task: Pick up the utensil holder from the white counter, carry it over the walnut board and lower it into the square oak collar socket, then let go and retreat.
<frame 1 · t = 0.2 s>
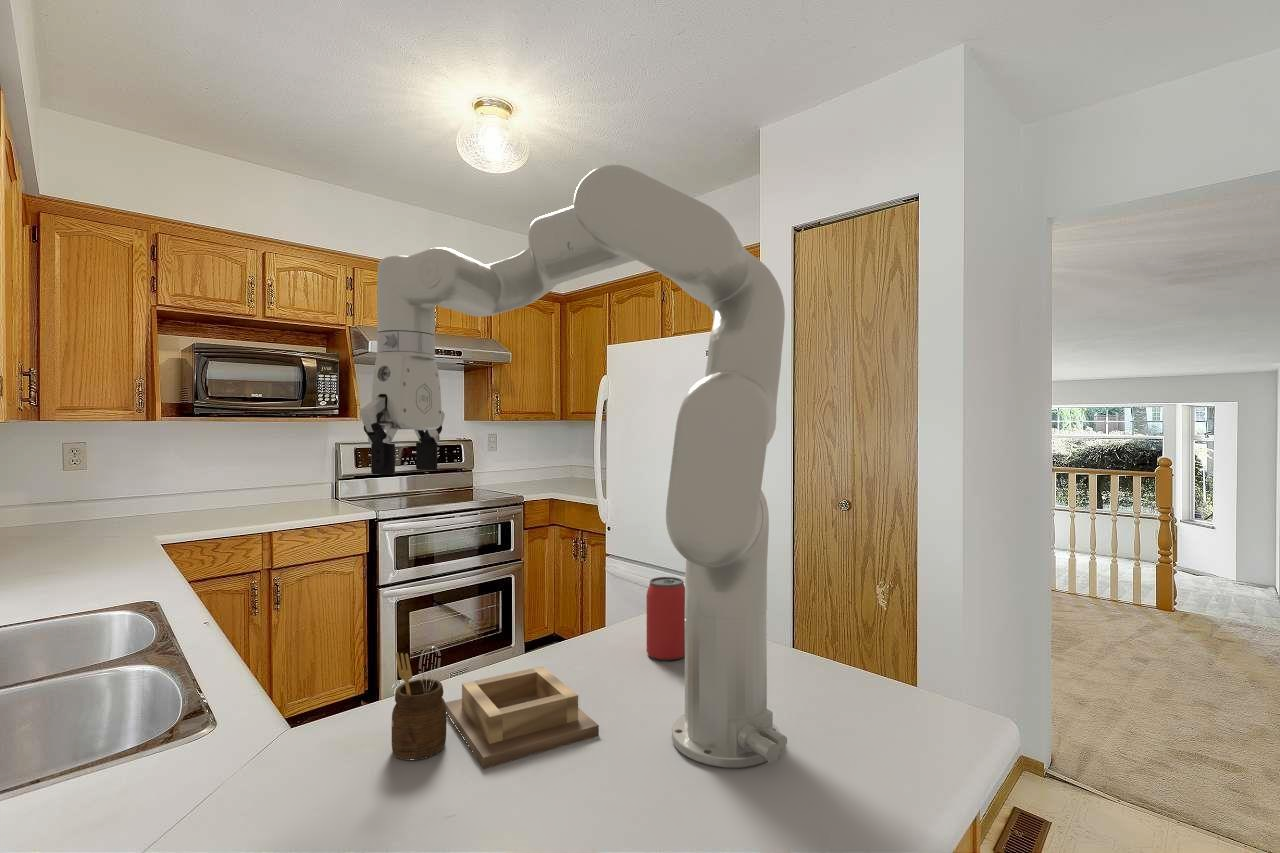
hand: (406, 471, 87), 31 cm above the worktop, tool pointing down, fingers open, 9 cm apart
utensil holder: (418, 751, 71), on the worktop
socket board: (518, 723, 78), on the worktop
beer can: (666, 655, 101), on the worktop
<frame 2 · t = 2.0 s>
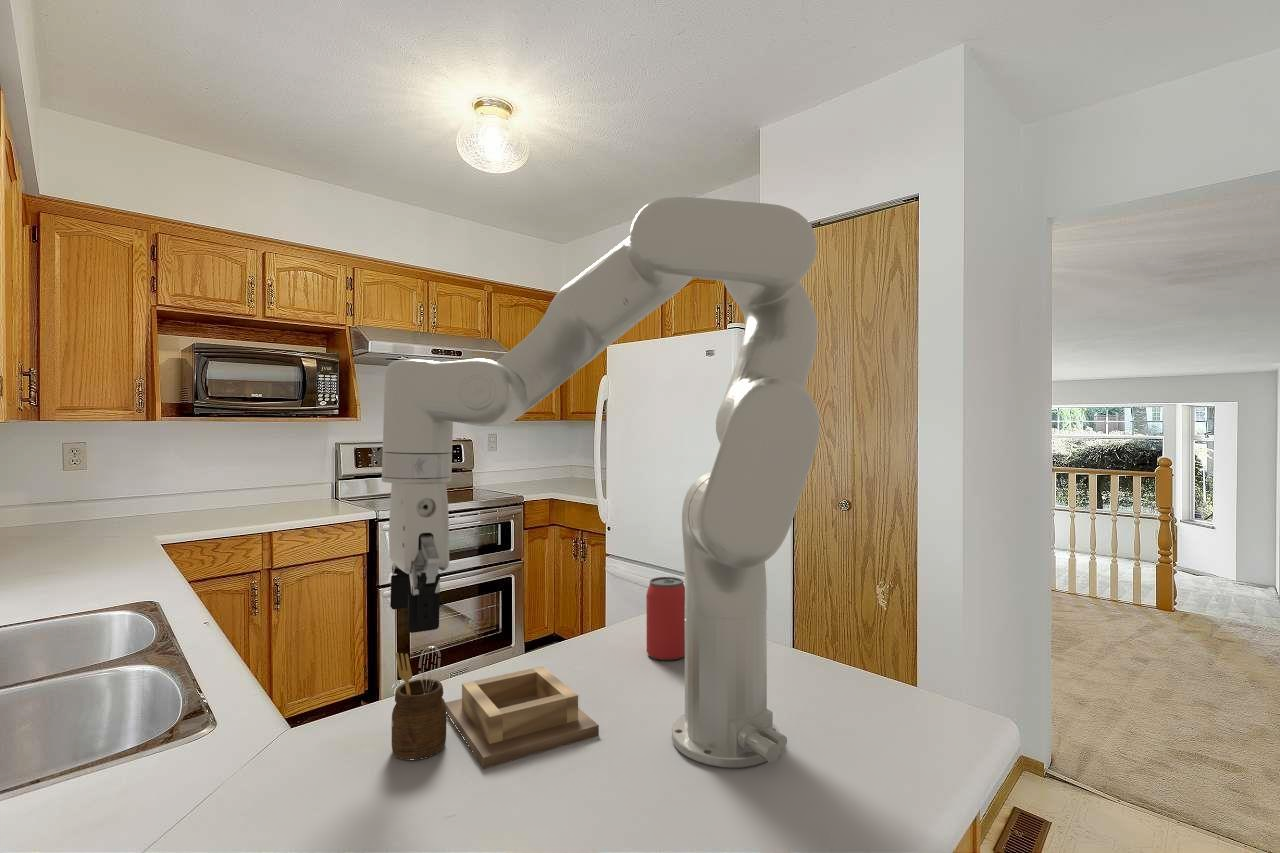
hand: (413, 618, 71), 15 cm above the worktop, tool pointing down, fingers open, 9 cm apart
nothing on the worktop moved.
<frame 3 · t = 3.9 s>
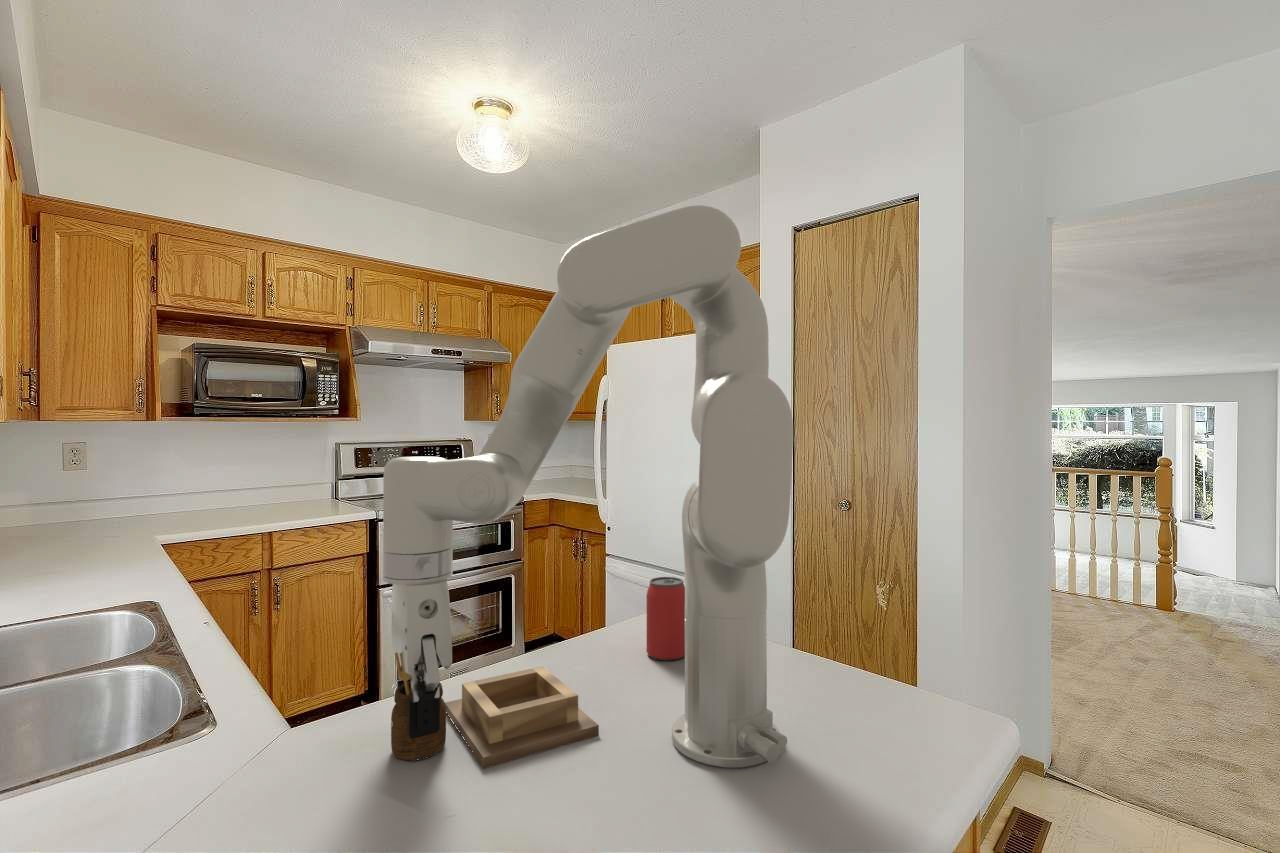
hand: (417, 721, 71), 3 cm above the worktop, tool pointing down, fingers closed on utensil holder, 5 cm apart
utensil holder: (418, 751, 71), on the worktop, touching gripper
everything else where it was.
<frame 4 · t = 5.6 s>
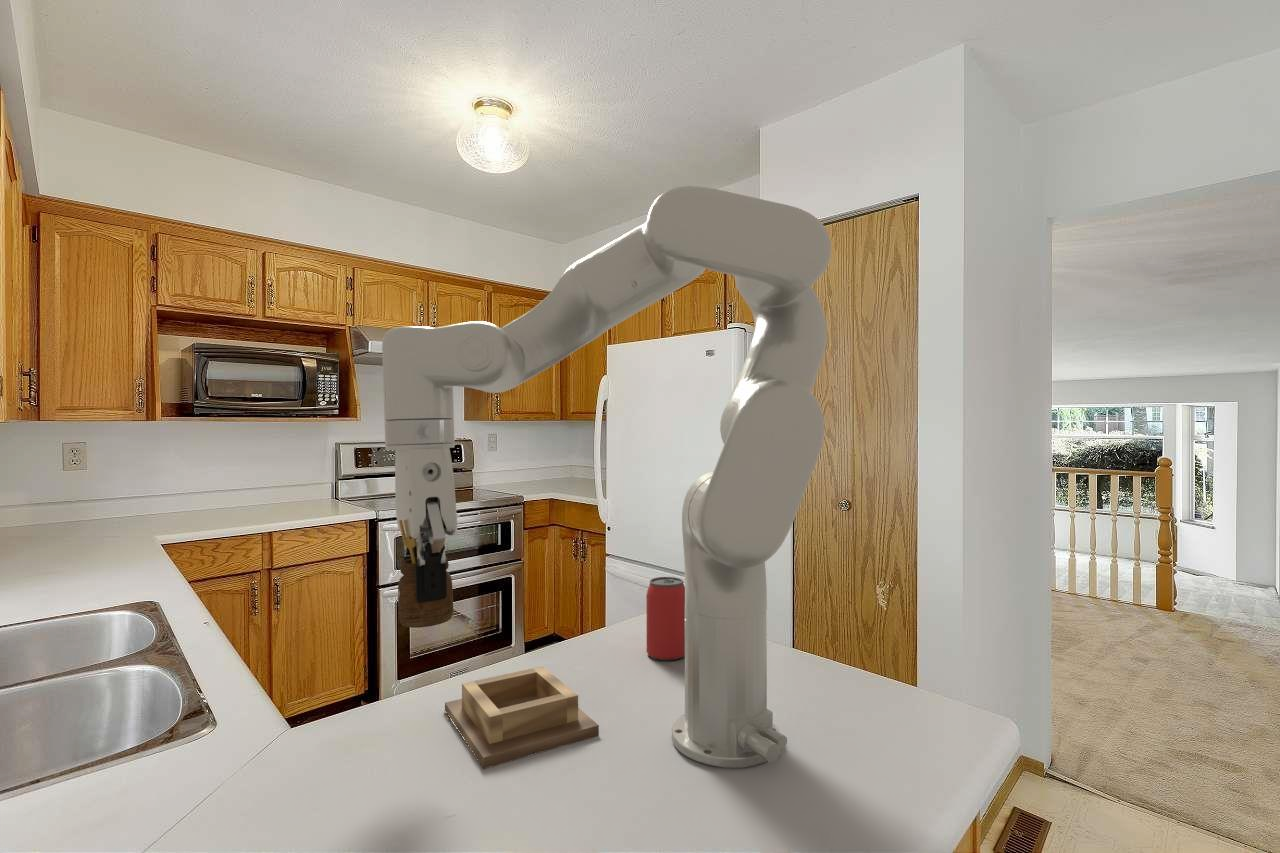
hand: (425, 592, 72), 18 cm above the worktop, tool pointing down, fingers closed on utensil holder, 5 cm apart
utensil holder: (426, 623, 71), point 14 cm above the worktop, touching gripper
everything else where it was.
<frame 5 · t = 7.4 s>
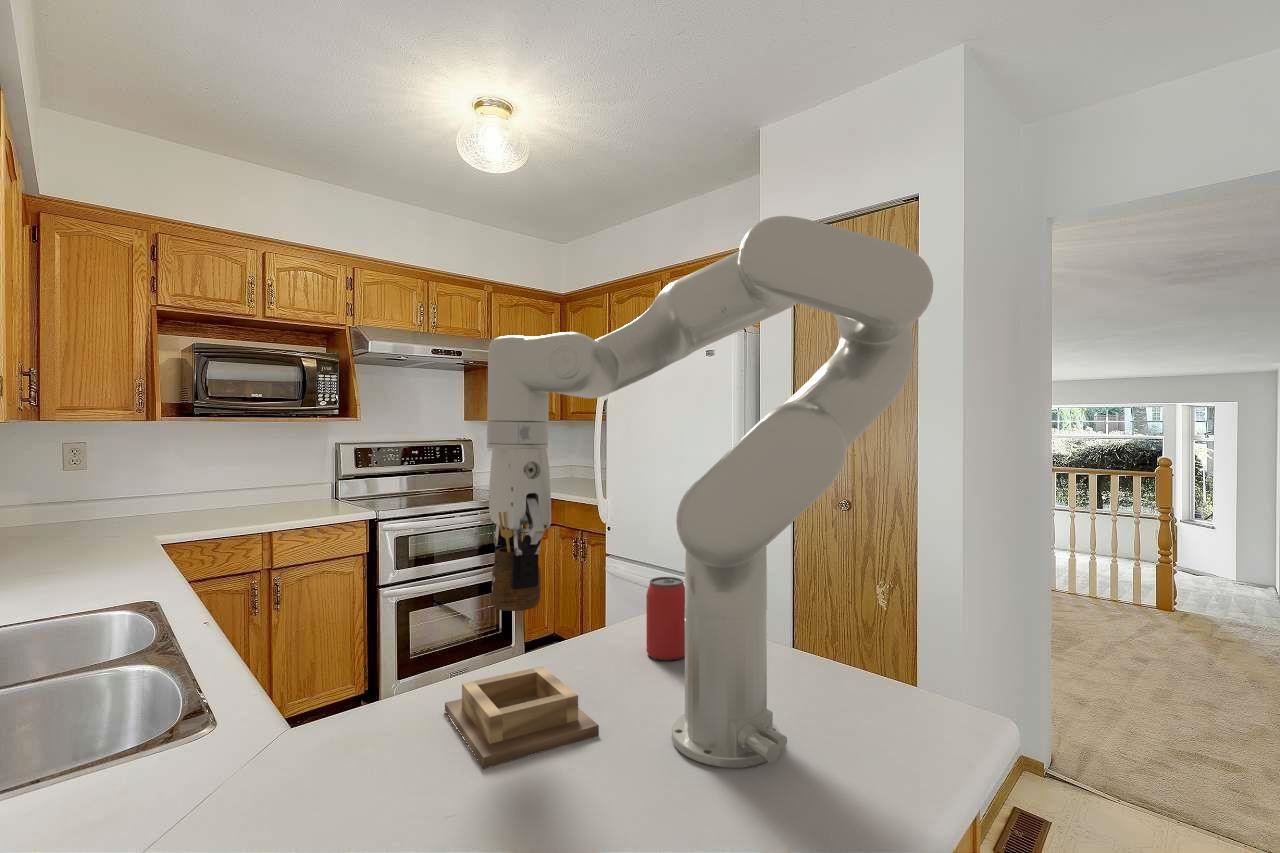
hand: (515, 580, 78), 18 cm above the worktop, tool pointing down, fingers closed on utensil holder, 5 cm apart
utensil holder: (515, 607, 78), point 14 cm above the worktop, touching gripper
everything else where it was.
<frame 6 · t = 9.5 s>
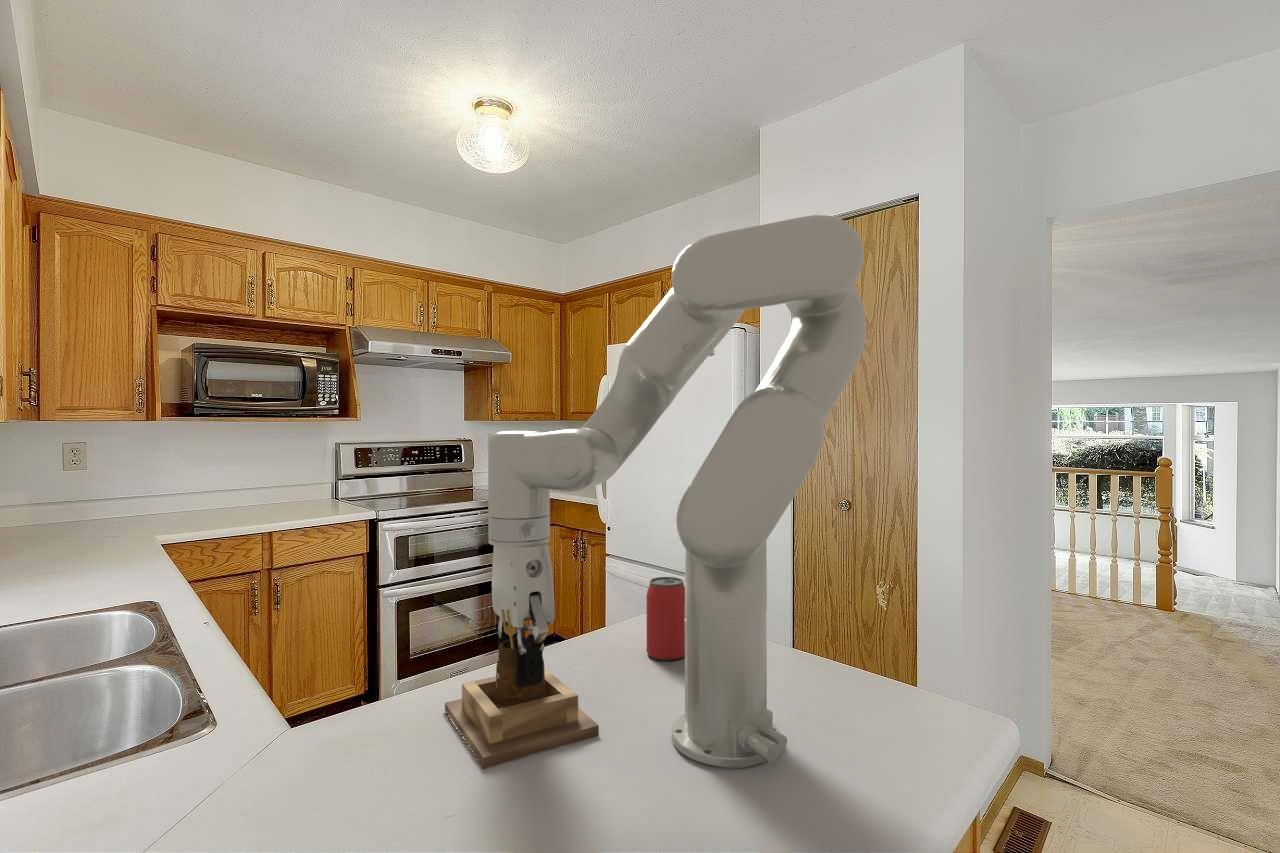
hand: (520, 674, 78), 6 cm above the worktop, tool pointing down, fingers closed on utensil holder, 5 cm apart
utensil holder: (520, 702, 77), point 3 cm above the worktop, touching gripper
everything else where it was.
when the fingers open (6 cm above the worktop, at t = 10.0 s): utensil holder drops 2 cm, resting on socket board.
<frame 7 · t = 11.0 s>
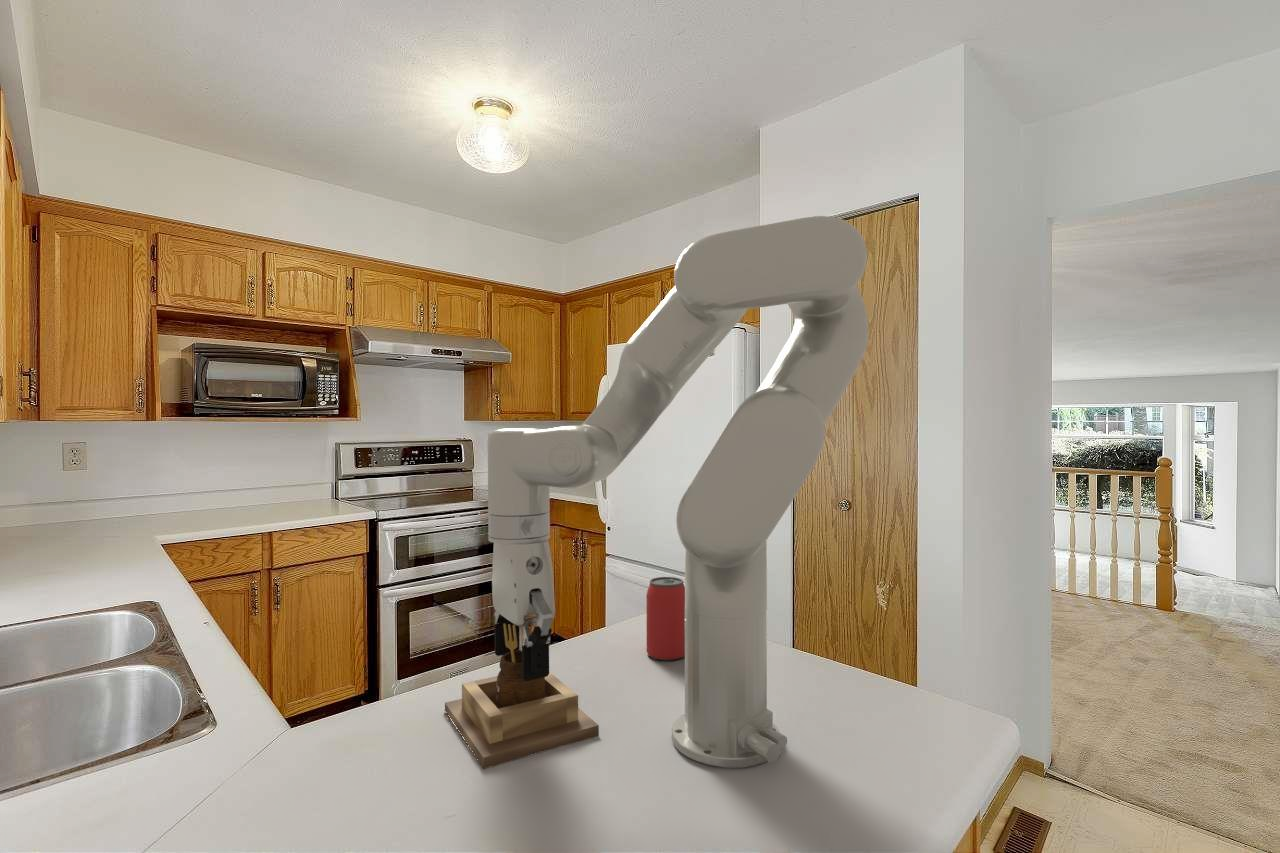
hand: (520, 665, 78), 7 cm above the worktop, tool pointing down, fingers open, 9 cm apart
utensil holder: (520, 715, 78), point 1 cm above the worktop, touching socket board
everything else where it was.
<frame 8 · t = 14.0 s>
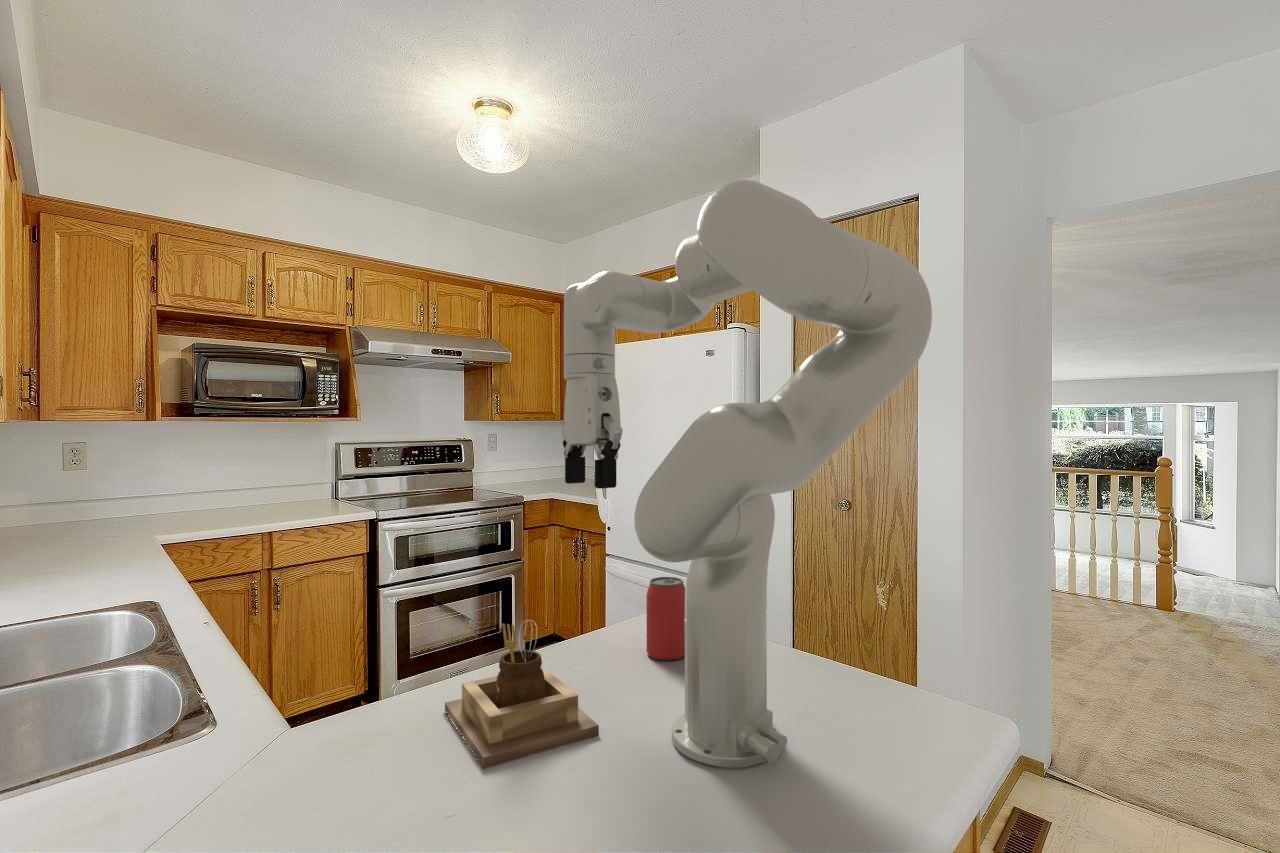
hand: (589, 485, 92), 28 cm above the worktop, tool pointing down, fingers open, 9 cm apart
nothing on the worktop moved.
at the end: utensil holder 0.2 cm off-centre on the socket board, point 1.0 cm above the socket board's base; utensil holder tilted 0°; the gripper is holding nothing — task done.
